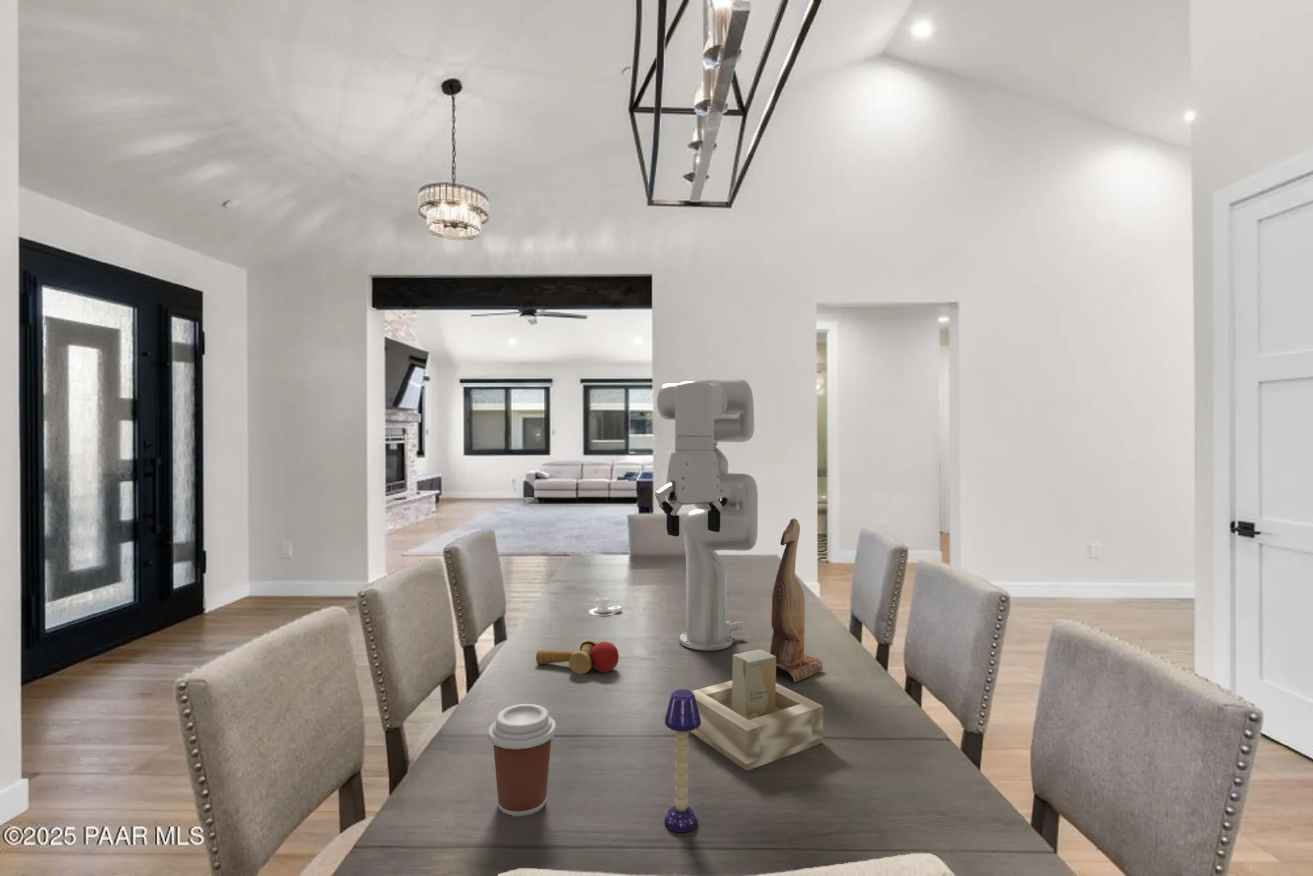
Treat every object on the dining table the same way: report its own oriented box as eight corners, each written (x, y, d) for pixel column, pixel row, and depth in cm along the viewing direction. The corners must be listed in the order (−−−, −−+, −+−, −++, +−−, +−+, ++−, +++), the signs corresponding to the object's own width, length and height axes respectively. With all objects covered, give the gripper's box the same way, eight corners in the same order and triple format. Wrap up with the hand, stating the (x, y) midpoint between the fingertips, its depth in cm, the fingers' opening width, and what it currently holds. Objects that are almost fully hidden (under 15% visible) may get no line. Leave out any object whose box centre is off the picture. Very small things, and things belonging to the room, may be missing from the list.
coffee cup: (560, 783, 92) (560, 699, 92) (551, 822, 83) (551, 729, 83) (495, 784, 92) (495, 700, 91) (480, 823, 83) (480, 730, 82)
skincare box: (746, 738, 103) (746, 662, 103) (730, 727, 107) (730, 654, 107) (777, 728, 106) (777, 655, 106) (760, 718, 110) (760, 647, 110)
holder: (756, 706, 117) (757, 673, 117) (822, 743, 104) (823, 706, 104) (684, 728, 109) (685, 692, 109) (746, 771, 95) (746, 730, 95)
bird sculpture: (748, 671, 134) (749, 518, 134) (778, 656, 143) (779, 513, 142) (795, 686, 127) (796, 524, 126) (824, 669, 135) (825, 518, 135)
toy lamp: (662, 811, 85) (663, 686, 85) (697, 809, 86) (698, 685, 85) (666, 834, 80) (666, 701, 80) (703, 832, 81) (703, 700, 81)
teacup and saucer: (626, 612, 178) (626, 597, 178) (608, 619, 171) (609, 604, 171) (600, 607, 183) (600, 593, 183) (583, 614, 176) (583, 599, 176)
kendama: (530, 678, 134) (612, 674, 129) (529, 646, 135) (610, 642, 131) (546, 671, 141) (624, 667, 137) (545, 641, 142) (622, 637, 138)
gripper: (717, 444, 133) (717, 527, 133) (646, 445, 123) (645, 534, 124) (741, 445, 126) (740, 532, 127) (667, 446, 117) (667, 540, 117)
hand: (693, 533), depth 125 cm, fingers open, 9 cm apart
